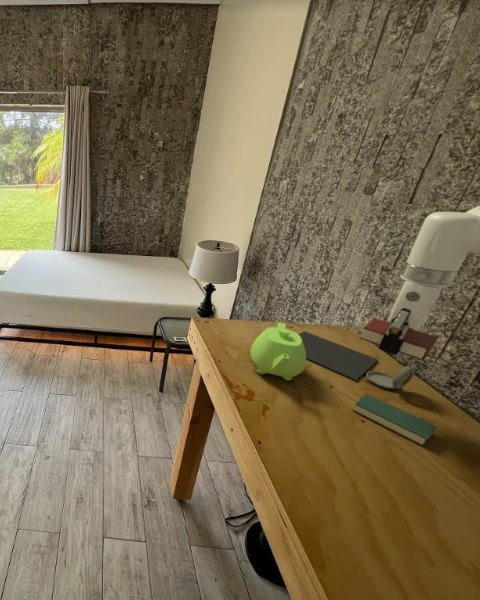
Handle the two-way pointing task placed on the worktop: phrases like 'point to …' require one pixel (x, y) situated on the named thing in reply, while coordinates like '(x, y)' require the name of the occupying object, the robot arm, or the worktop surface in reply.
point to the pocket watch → (389, 381)
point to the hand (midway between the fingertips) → (393, 345)
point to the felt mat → (336, 356)
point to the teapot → (279, 352)
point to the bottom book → (395, 419)
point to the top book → (414, 340)
